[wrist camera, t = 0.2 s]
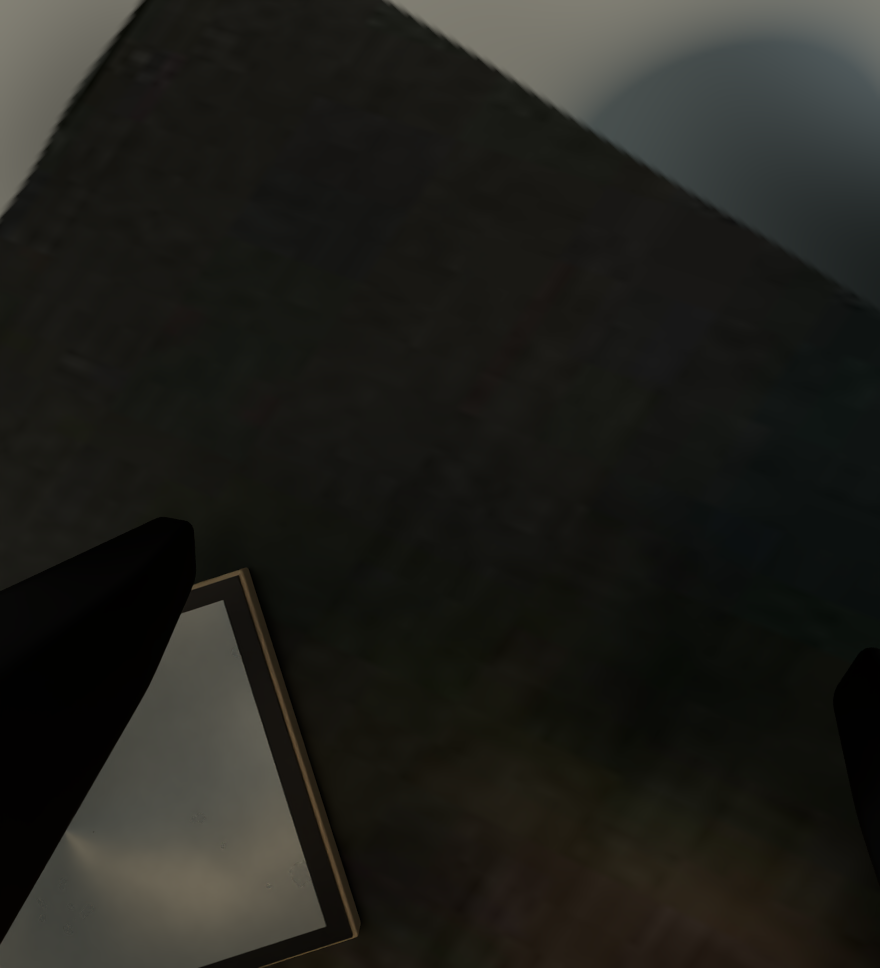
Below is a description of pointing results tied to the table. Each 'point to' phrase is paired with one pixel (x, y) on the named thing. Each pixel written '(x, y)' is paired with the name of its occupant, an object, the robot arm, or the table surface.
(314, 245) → the table surface
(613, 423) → the table surface
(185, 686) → the tablet
